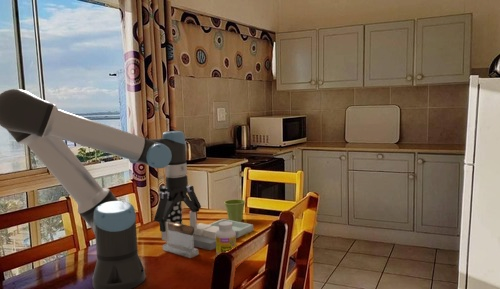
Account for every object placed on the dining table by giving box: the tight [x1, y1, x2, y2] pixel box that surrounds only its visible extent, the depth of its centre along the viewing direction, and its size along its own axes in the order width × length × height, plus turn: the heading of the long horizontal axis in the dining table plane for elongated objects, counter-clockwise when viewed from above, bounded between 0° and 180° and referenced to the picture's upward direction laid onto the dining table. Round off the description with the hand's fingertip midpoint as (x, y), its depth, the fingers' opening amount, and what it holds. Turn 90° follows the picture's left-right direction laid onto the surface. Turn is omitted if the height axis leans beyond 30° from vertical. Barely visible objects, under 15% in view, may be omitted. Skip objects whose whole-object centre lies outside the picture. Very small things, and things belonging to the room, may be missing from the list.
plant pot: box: [223, 198, 246, 222], centre depth 183 cm, size 9×9×9 cm
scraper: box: [162, 221, 199, 259], centre depth 147 cm, size 4×14×10 cm, turn 53°
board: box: [192, 231, 239, 251], centre depth 159 cm, size 16×16×2 cm
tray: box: [208, 218, 254, 238], centre depth 170 cm, size 10×16×2 cm, turn 53°
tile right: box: [203, 226, 219, 239], centre depth 157 cm, size 6×6×2 cm
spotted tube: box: [158, 184, 183, 224], centre depth 165 cm, size 8×8×20 cm
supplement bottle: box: [215, 221, 237, 255], centre depth 138 cm, size 7×7×13 cm
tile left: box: [193, 222, 212, 236], centre depth 161 cm, size 6×6×2 cm
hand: (180, 234), depth 147 cm, fingers open, 13 cm apart
